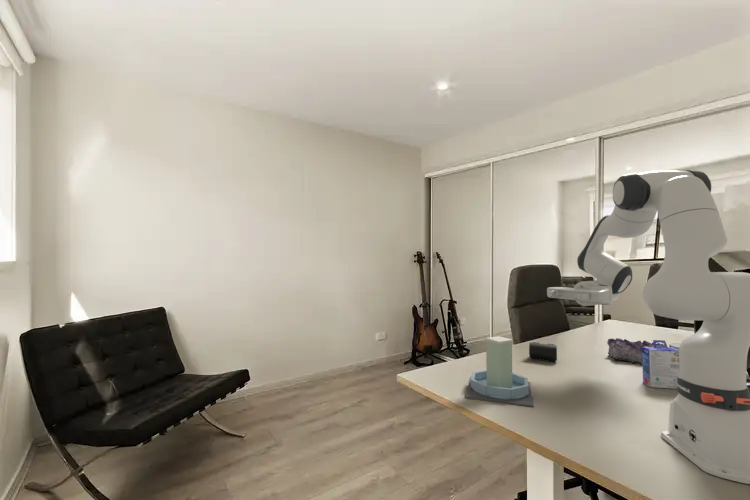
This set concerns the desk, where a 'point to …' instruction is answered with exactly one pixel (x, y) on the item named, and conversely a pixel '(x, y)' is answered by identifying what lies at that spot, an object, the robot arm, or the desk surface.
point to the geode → (627, 349)
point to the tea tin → (499, 362)
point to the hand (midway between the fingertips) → (563, 295)
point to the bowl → (516, 392)
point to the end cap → (543, 351)
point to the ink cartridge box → (660, 365)
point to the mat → (523, 401)
